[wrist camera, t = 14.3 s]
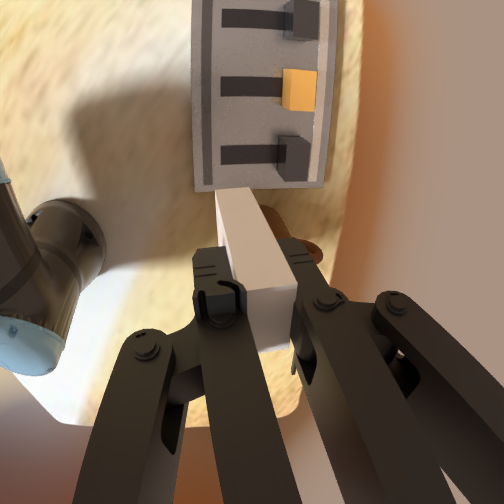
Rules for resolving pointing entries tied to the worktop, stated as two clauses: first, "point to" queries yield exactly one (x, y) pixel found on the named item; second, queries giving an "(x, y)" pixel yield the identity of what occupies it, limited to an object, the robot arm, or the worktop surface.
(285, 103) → the tall orange block
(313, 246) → the mug
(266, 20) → the panel
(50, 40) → the worktop surface
